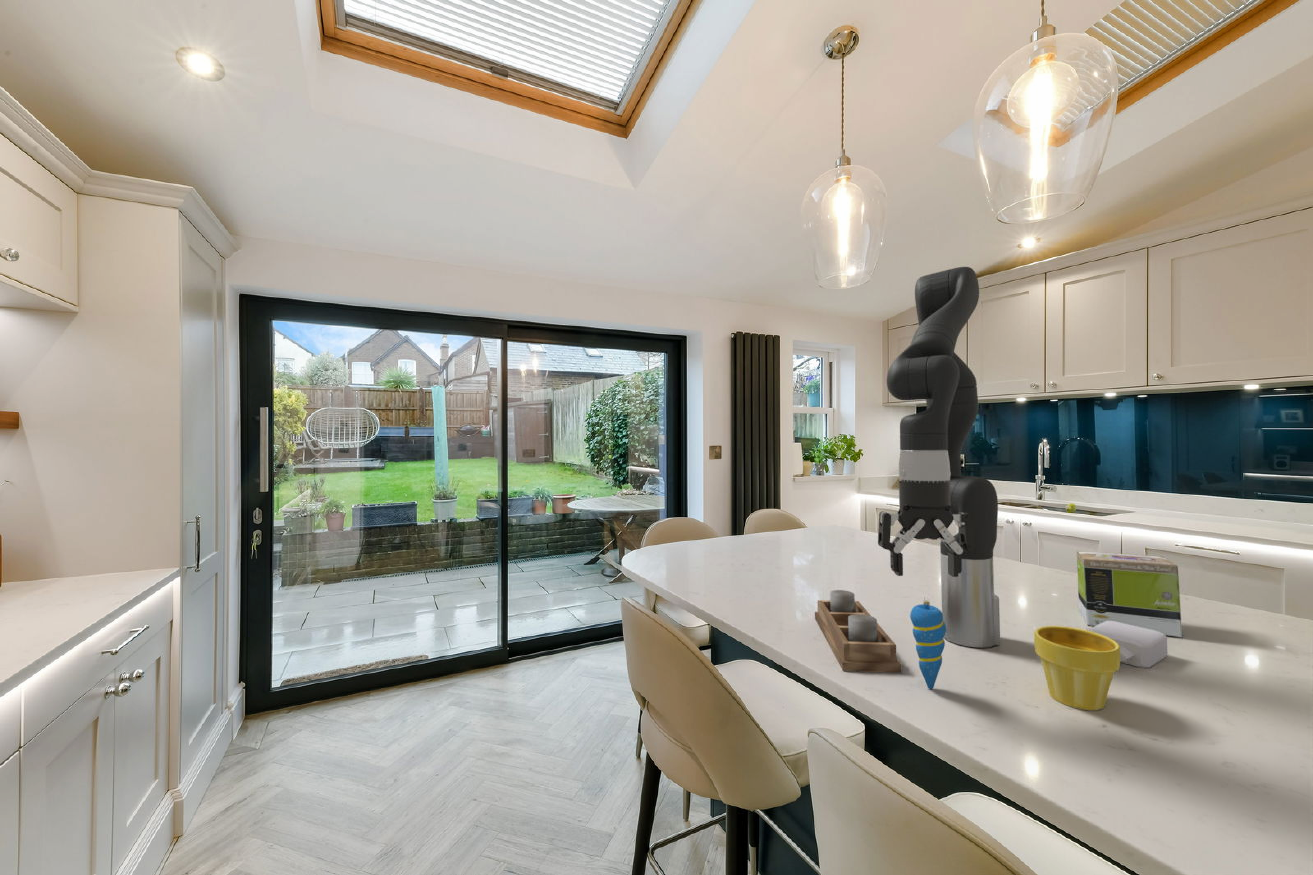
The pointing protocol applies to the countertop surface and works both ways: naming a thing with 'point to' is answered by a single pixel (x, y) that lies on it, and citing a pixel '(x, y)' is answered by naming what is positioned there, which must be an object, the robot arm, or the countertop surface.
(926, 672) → the ornament
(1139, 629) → the charger
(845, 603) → the wooden compartment tray
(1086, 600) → the tea box
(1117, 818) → the countertop surface
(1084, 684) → the plant pot
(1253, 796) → the countertop surface
